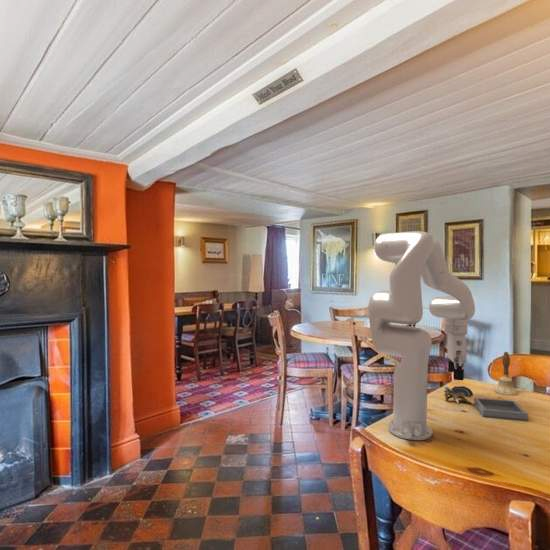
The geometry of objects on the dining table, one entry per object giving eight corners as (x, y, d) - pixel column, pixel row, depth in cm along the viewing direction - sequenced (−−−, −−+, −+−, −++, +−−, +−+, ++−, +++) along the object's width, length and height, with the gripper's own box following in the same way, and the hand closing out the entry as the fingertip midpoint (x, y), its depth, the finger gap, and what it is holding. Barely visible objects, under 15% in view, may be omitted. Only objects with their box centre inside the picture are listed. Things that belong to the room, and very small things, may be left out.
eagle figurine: (449, 403, 135) (475, 400, 134) (443, 383, 139) (469, 380, 138) (446, 408, 142) (472, 405, 140) (440, 389, 146) (465, 386, 144)
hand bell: (521, 396, 146) (522, 355, 146) (498, 394, 148) (498, 353, 148) (512, 389, 155) (513, 350, 154) (490, 388, 156) (491, 349, 156)
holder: (527, 421, 123) (527, 413, 123) (483, 416, 126) (483, 409, 126) (514, 407, 135) (514, 400, 134) (474, 404, 138) (474, 397, 138)
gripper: (473, 334, 130) (472, 384, 130) (461, 325, 146) (461, 369, 147) (449, 333, 132) (449, 382, 132) (440, 324, 148) (440, 368, 149)
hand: (455, 375), depth 140 cm, fingers open, 9 cm apart
